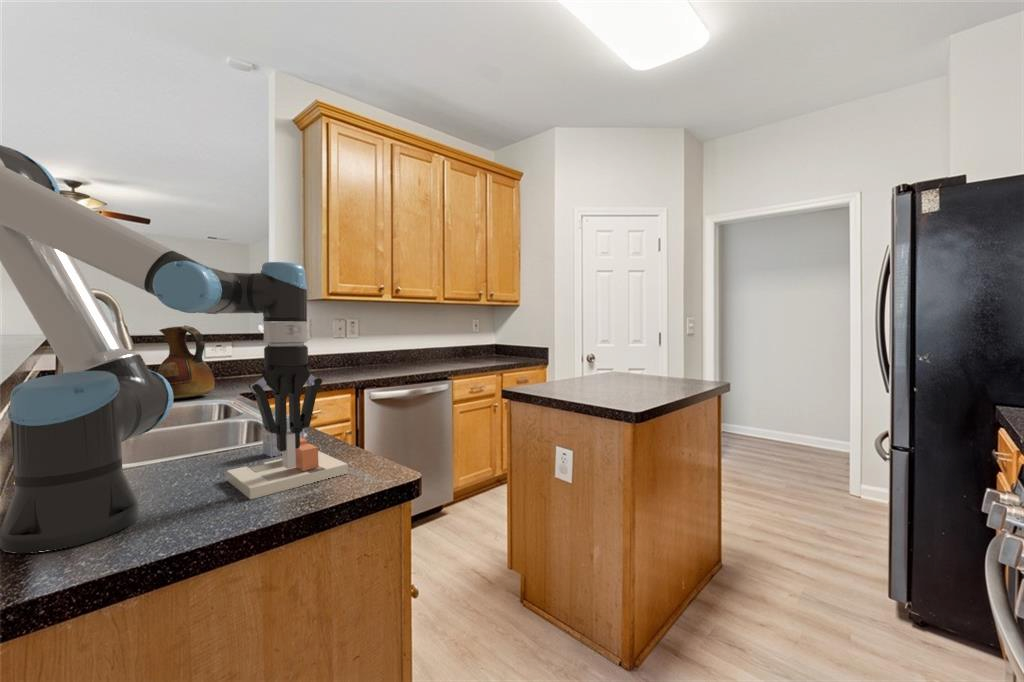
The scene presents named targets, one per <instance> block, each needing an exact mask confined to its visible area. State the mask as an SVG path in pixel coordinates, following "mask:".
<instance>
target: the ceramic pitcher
mask: <svg viewBox="0 0 1024 682" xmlns="http://www.w3.org/2000/svg"><path fill="white" fill-rule="evenodd" d="M158 331H159V332H161V333H162V335H164V336H165V338H166V341H167V345H168V348H169V353H168V356H167V357H166V358H165V359H164V360H163V361H162V362H161V364H160V365H159V366H158V370H157V372H156V373H158V374H160V375H162V376H163V377H164V378H165V379H166V380H167V381H168V382H169V384H170V386H171V388H172V391H173V400H177V399H184V398H185V399H186V398H191V397H198V396H202V395H208V394H210V393H211V392H212V391H213V390H214V389H215V385H216V382H215V377H214V373H213V371H212V369H211V368H210V367H209V365H208V363H206V361H205V360H204V359H203V355H204V350H205V340H204V338H203V335H202V333H201V332H200V331H199V330H198V329H196V328H195V327H193V326H190V325H183V326H171V327H166V328H162V329H159V330H158ZM187 333H188V334H190V335H191V336H192V337H193V340H194V342H195V352H194V353H191V352H190V350H189V348H188V344H187V339H186V338H187V337H186V336H187Z"/></svg>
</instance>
